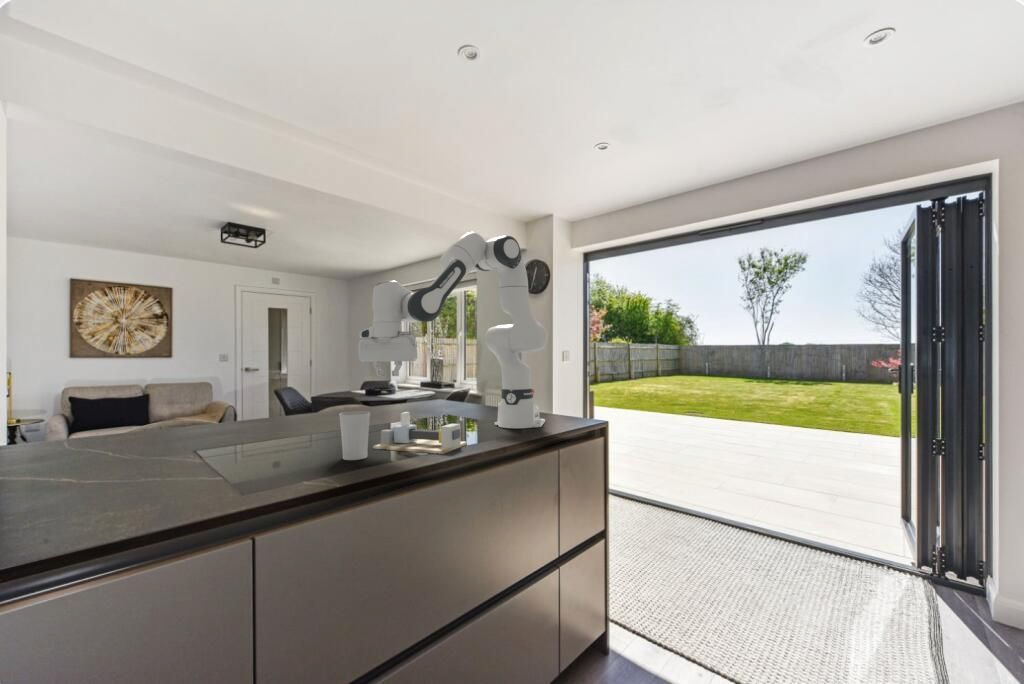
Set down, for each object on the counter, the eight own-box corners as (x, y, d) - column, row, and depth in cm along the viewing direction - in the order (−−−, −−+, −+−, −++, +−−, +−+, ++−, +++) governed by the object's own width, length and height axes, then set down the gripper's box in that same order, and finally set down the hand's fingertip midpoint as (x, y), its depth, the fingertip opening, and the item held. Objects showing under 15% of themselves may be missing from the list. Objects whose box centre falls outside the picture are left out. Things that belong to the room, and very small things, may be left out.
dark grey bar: (388, 439, 137) (388, 427, 137) (395, 437, 140) (395, 425, 140) (444, 443, 129) (444, 430, 129) (451, 441, 133) (451, 428, 133)
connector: (441, 447, 128) (441, 426, 128) (451, 443, 134) (451, 423, 134) (451, 448, 127) (451, 427, 127) (462, 444, 132) (461, 424, 133)
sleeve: (393, 442, 135) (393, 413, 135) (403, 439, 140) (403, 411, 140) (407, 443, 133) (407, 413, 134) (416, 440, 138) (416, 411, 138)
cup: (375, 454, 125) (374, 411, 125) (362, 461, 117) (362, 415, 117) (347, 454, 125) (347, 411, 126) (333, 460, 117) (333, 415, 118)
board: (373, 448, 132) (373, 445, 132) (401, 439, 145) (401, 437, 145) (443, 454, 123) (443, 451, 123) (467, 444, 136) (466, 441, 136)
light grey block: (380, 444, 135) (380, 430, 135) (397, 439, 143) (397, 426, 143) (388, 444, 134) (388, 431, 134) (405, 439, 141) (405, 427, 142)
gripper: (421, 331, 139) (421, 375, 138) (368, 333, 147) (368, 375, 146) (409, 330, 133) (409, 376, 133) (354, 332, 141) (355, 376, 140)
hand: (387, 376), depth 139 cm, fingers open, 4 cm apart
